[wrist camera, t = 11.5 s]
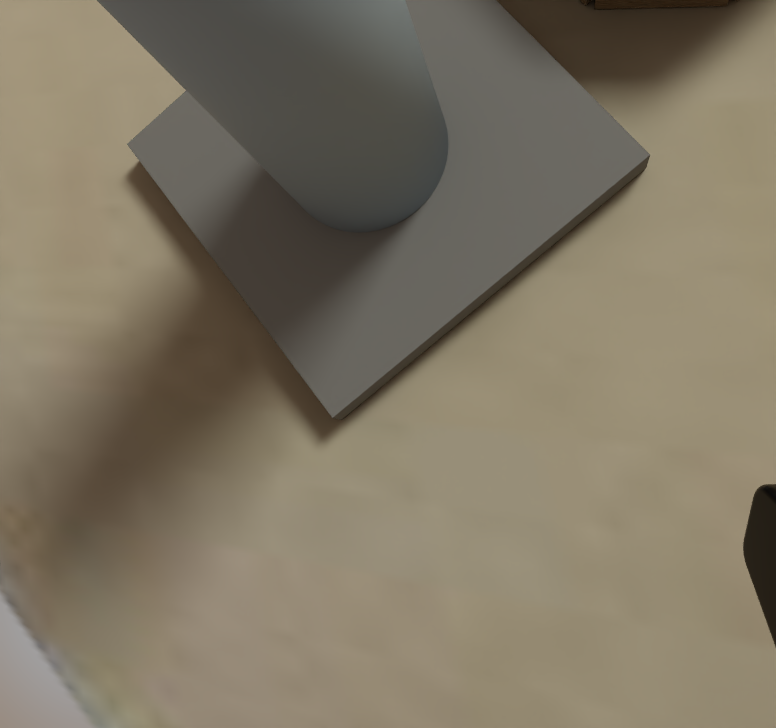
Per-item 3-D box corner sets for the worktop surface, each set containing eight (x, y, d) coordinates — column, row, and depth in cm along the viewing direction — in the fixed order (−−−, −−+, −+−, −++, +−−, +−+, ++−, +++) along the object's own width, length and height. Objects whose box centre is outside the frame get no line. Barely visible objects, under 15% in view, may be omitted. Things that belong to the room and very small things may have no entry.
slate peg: (483, 152, 18) (358, -373, 7) (351, 266, 19) (20, -50, 7) (378, 39, 20) (117, -580, 8) (255, 149, 20) (-166, -289, 8)
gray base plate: (645, 167, 18) (649, 154, 18) (341, 419, 19) (332, 418, 18) (402, -79, 21) (396, -100, 20) (142, 155, 22) (126, 144, 21)
